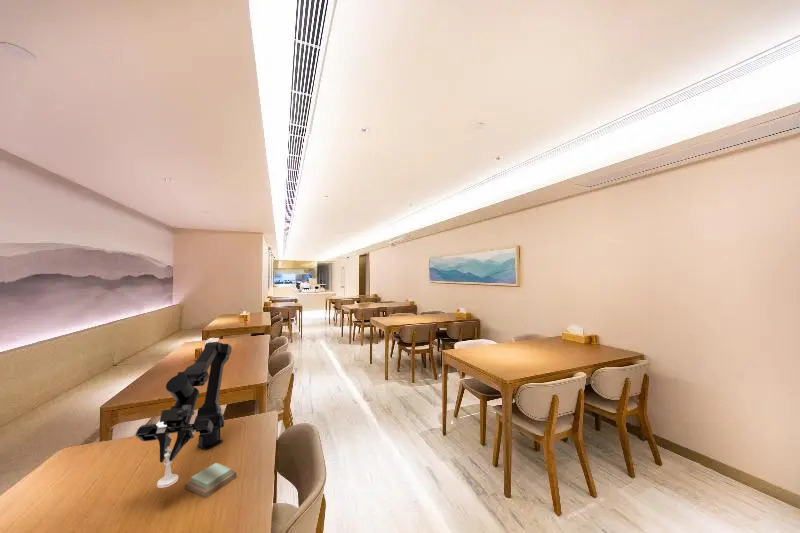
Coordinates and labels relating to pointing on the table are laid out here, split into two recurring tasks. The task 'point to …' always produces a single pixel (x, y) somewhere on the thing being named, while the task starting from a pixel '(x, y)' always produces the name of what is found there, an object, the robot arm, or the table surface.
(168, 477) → the chess piece
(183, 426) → the robot arm
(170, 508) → the table surface
